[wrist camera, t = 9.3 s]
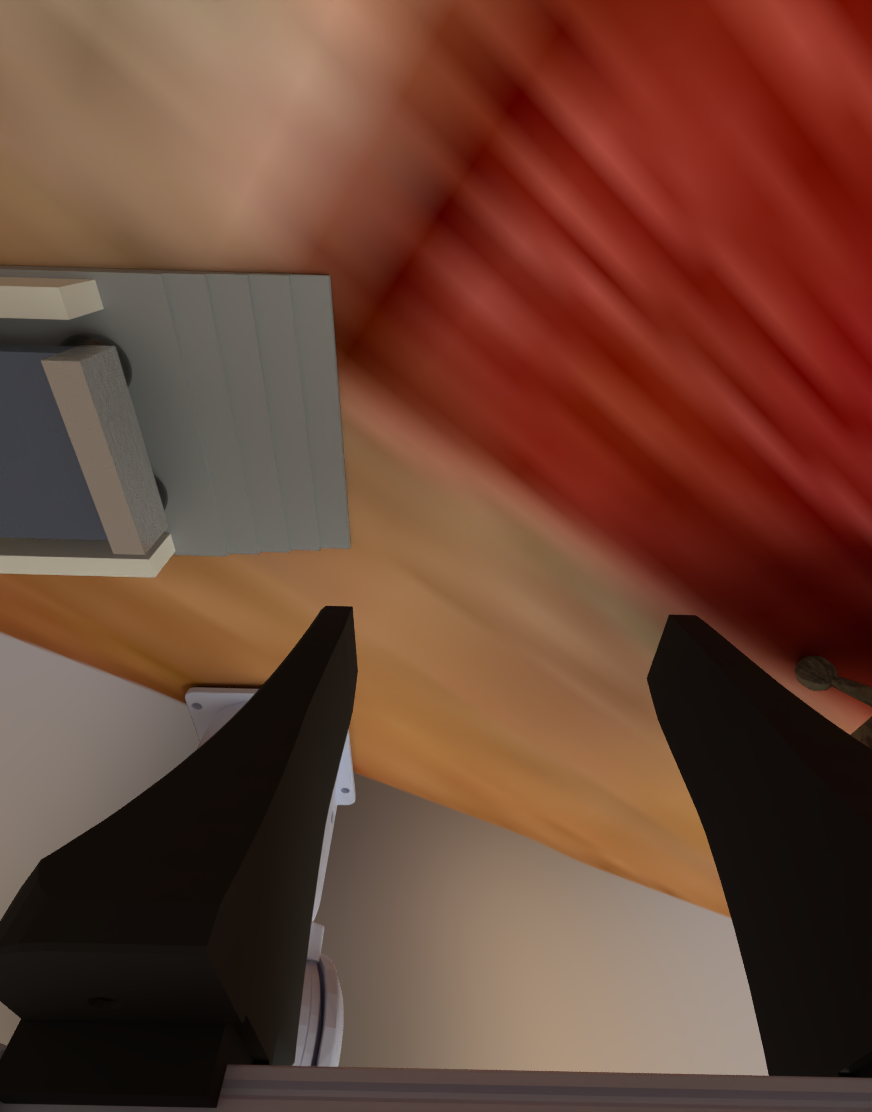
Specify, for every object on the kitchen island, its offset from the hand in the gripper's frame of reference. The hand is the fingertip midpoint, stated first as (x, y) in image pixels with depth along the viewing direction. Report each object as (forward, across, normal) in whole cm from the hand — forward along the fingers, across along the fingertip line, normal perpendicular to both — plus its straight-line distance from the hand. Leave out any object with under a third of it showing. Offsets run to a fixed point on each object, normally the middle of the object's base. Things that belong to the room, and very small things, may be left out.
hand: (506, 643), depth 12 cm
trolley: (+8, +16, -2) cm, 18 cm away
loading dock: (+9, +13, -2) cm, 16 cm away
